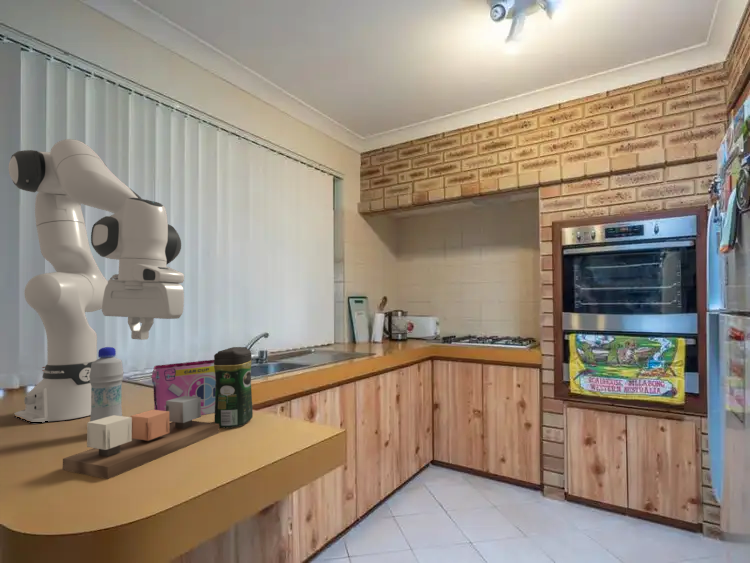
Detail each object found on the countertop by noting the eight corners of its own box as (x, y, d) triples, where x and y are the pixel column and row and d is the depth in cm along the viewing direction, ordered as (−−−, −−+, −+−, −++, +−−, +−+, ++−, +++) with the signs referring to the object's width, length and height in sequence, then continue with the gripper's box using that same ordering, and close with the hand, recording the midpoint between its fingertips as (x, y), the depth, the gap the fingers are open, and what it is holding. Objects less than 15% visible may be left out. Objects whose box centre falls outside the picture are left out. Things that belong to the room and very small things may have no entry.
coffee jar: (226, 417, 106) (226, 345, 107) (256, 417, 105) (255, 345, 106) (208, 429, 96) (208, 350, 97) (241, 429, 96) (240, 349, 97)
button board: (62, 469, 74) (63, 438, 74) (180, 427, 98) (180, 404, 98) (107, 479, 69) (108, 446, 70) (219, 432, 94) (219, 408, 94)
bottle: (93, 431, 97) (94, 346, 98) (126, 428, 99) (126, 344, 100) (84, 440, 90) (85, 349, 91) (119, 436, 93) (120, 347, 94)
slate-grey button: (166, 421, 90) (166, 400, 91) (184, 415, 95) (184, 395, 95) (183, 423, 89) (182, 402, 89) (200, 416, 93) (200, 397, 93)
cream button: (87, 446, 75) (87, 422, 75) (113, 438, 79) (113, 415, 80) (105, 450, 73) (105, 424, 73) (131, 440, 77) (131, 417, 78)
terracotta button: (130, 438, 83) (130, 415, 83) (152, 430, 87) (152, 409, 87) (148, 440, 81) (148, 417, 81) (169, 432, 85) (169, 411, 85)
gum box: (153, 424, 102) (153, 369, 103) (148, 417, 108) (148, 365, 109) (247, 407, 116) (247, 359, 117) (238, 402, 123) (237, 356, 123)
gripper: (95, 273, 88) (91, 337, 87) (164, 272, 80) (161, 343, 80) (122, 275, 94) (119, 335, 93) (190, 274, 86) (187, 340, 86)
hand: (139, 339), depth 86 cm, fingers closed
